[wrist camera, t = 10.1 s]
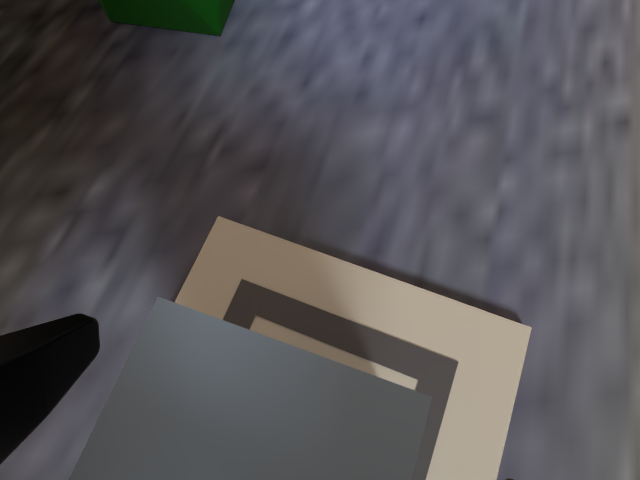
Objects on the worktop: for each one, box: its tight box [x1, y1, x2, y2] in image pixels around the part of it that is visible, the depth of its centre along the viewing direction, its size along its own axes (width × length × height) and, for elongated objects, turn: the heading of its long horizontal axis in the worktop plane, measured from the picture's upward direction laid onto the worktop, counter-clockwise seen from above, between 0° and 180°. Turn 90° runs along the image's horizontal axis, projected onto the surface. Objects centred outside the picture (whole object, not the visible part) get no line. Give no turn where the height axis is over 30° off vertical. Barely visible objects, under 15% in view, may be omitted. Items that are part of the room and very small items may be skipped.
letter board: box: [175, 216, 532, 480], centre depth 16 cm, size 14×14×1 cm
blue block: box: [69, 297, 433, 480], centre depth 11 cm, size 5×5×10 cm
